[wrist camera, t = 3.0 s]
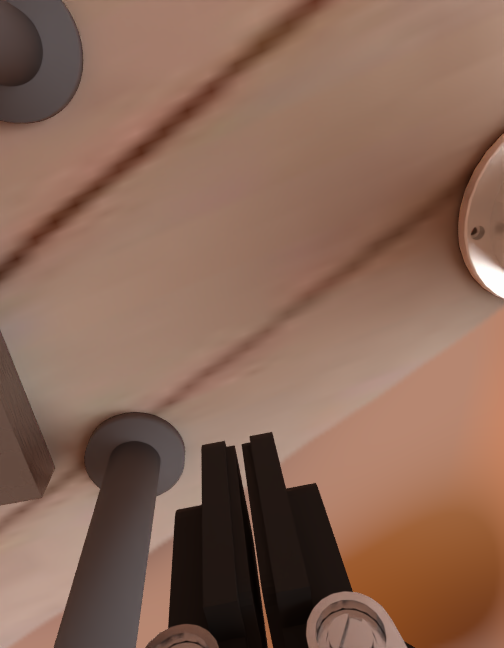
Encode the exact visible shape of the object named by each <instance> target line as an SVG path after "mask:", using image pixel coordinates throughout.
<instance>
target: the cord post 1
mask: <svg viewBox="0 0 504 648" xmlns="http://www.w3.org/2000/svg"><path fill="white" fill-rule="evenodd" d="M82 70H83V50H82V43H81V39H80V35H79V32H78V29H77V27H76V24H75V22H74V20H73V18H72V16H71V14H70V12H69V10H68V9H67V7H66V6H65V4H64V3H63V2H62V0H0V120H1V121H5V122H13V123H33V122H39V121H42V120H46V119H48V118H50V117H52V116H54V115H56V114H57V113H59V112H60V111H62V110H63V109H64V108H65V107H66V106H67V105H68V103H69V102H70V101H71V99H72V98H73V96H74V95H75V93H76V91H77V89H78V86H79V83H80V80H81V76H82Z"/></svg>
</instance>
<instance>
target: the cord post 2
mask: <svg viewBox="0 0 504 648" xmlns="http://www.w3.org/2000/svg"><path fill="white" fill-rule="evenodd" d="M84 459H85V467H86V470H87V473H88V475H89V477H90V478H91V480H92V481H93V482H94V483H95V484H96V485H97V486H98V487H99V488H100V492H99V495H98V499H97V502H96V505H95V509H94V512H93V516H92V519H91V522H90V526H89V529H88V533H87V536H86V539H85V543H84V546H83V550H82V553H81V556H80V560H79V563H78V567H77V570H76V573H75V577H74V580H73V584H72V587H71V590H70V594H69V597H68V601H67V604H66V607H65V611H64V614H63V618H62V621H61V624H60V628H59V632H58V635H57V638H56V641H55V645H54V648H136V641H137V634H138V626H139V619H140V611H141V604H142V597H143V590H144V582H145V575H146V567H147V560H148V553H149V545H150V538H151V531H152V523H153V516H154V508H155V501H156V496H158V495H161V494H163V493H164V492H166V491H168V490H169V489H170V488H171V487H173V486H174V485H175V484H176V482H177V481H178V480H179V478H180V476H181V474H182V472H183V469H184V461H185V446H184V442H183V440H182V438H181V436H180V434H179V433H178V431H177V430H176V429H175V428H174V427H173V426H172V425H171V424H170V423H168V422H167V421H165V420H163V419H161V418H159V417H157V416H154V415H151V414H146V413H136V412H133V413H124V414H120V415H117V416H114V417H112V418H109V419H108V420H106V421H104V422H103V423H102V424H101V425H99V426H98V427H97V428H96V430H95V431H94V432H93V434H92V436H91V438H90V440H89V443H88V445H87V448H86V452H85V457H84Z"/></svg>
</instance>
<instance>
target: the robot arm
mask: <svg viewBox="0 0 504 648" xmlns="http://www.w3.org/2000/svg"><path fill="white" fill-rule="evenodd" d="M473 228H474V229H473ZM472 230H473V232H472V233H471V231H472ZM458 235H459V246H460V250H461V253H462V256H463V260H464V263H465V264H466V266H467V268H468V270H469V271H470V273H471V275H472V277H473V278H474V279H475V280H476V281H477V282H478V283H479V284H480V285H481V286H482V287H483V288H484V289H486V290H487V291H489V292H490V293H492V294H494V295H495V296H497V297H499V298H501V299H503V300H504V133H503V134H502V135H501V136H500V137H499V139H498V140H497V141H496V142H495V143H494V144H493V145H492V146H491V147H490V148H489V149H488V151H487V152H486V153H485V155H484V156H483V158H482V159H481V161H480V162H479V164H478V165H477V167H476V168H475V170H474V172H473V174H472V176H471V178H470V181H469V183H468V185H467V187H466V189H465V193H464V196H463V200H462V203H461V207H460V213H459V223H458ZM242 450H243V457H244V465H245V472H246V479H247V486H248V494H249V501H250V508H251V515H252V522H253V530H254V536H255V544H256V551H257V558H258V566H259V573H260V580H261V587H262V593H263V599H264V604H265V609H266V614H267V619H268V624H269V629H270V634H271V639H272V644H273V648H415V647H413V646H411V645H409V644H407V643H406V642H404V641H403V639H402V637H401V636H400V634H399V632H398V630H397V628H396V627H395V625H394V623H393V622H392V620H391V618H390V616H389V615H388V614H387V613H386V611H385V610H384V609H383V607H382V606H381V605H379V604H378V603H377V602H375V601H374V600H373V599H371V598H370V597H367V596H365V595H362V594H360V593H356V592H353V591H352V588H351V585H350V582H349V579H348V576H347V573H346V570H345V567H344V564H343V561H342V558H341V555H340V553H339V549H338V546H337V543H336V540H335V537H334V534H333V531H332V528H331V526H330V523H329V520H328V516H327V513H326V510H325V507H324V505H323V502H322V499H321V496H320V493H319V490H318V487H317V485H316V483H314V484H308V485H303V486H298V487H293V488H287V489H286V487H285V483H284V479H283V475H282V471H281V467H280V462H279V458H278V454H277V450H276V446H275V442H274V438H273V434H272V432H270V433H264V434H259V435H254V436H250V443H245V444H242ZM201 451H202V505H200V506H194V507H189V508H184V509H179V510H177V511H176V514H175V525H174V542H173V559H172V574H171V591H170V607H169V625H168V629H167V630H165V631H163V632H161V633H159V634H158V635H157V636H156V637H155V638H154V639H153V640H151V641H150V642H149V643H148V645H147V646H146V647H145V648H268V646H267V638H266V631H265V625H264V624H265V623H264V616H263V609H262V601H261V594H260V587H259V579H258V571H257V564H256V556H255V549H254V542H253V536H252V530H251V525H250V520H249V515H248V510H247V505H246V501H245V495H244V490H243V485H242V480H241V475H240V469H239V464H238V459H237V454H236V449H235V446H229V447H226V444H225V441H222V442H216V443H211V444H206V445H202V449H201Z"/></svg>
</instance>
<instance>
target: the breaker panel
mask: <svg viewBox="0 0 504 648" xmlns="http://www.w3.org/2000/svg"><path fill="white" fill-rule="evenodd" d="M54 469H55V466H54V464H53V461H52V459H51V456H50V454H49V451H48V449H47V446H46V444H45V441H44V439H43V436H42V434H41V431H40V429H39V426H38V424H37V421H36V419H35V416H34V414H33V411H32V409H31V406H30V404H29V401H28V399H27V396H26V394H25V391H24V389H23V386H22V384H21V381H20V379H19V376H18V374H17V371H16V369H15V366H14V364H13V361H12V359H11V356H10V354H9V351H8V349H7V346H6V344H5V341H4V339H3V336H2V334H1V331H0V505H5V504H11V503H17V502H22V501H28V500H33V499H39V498H42V496H43V494H44V492H45V490H46V487H47V485H48V483H49V481H50V478H51V476H52V474H53V472H54Z"/></svg>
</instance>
